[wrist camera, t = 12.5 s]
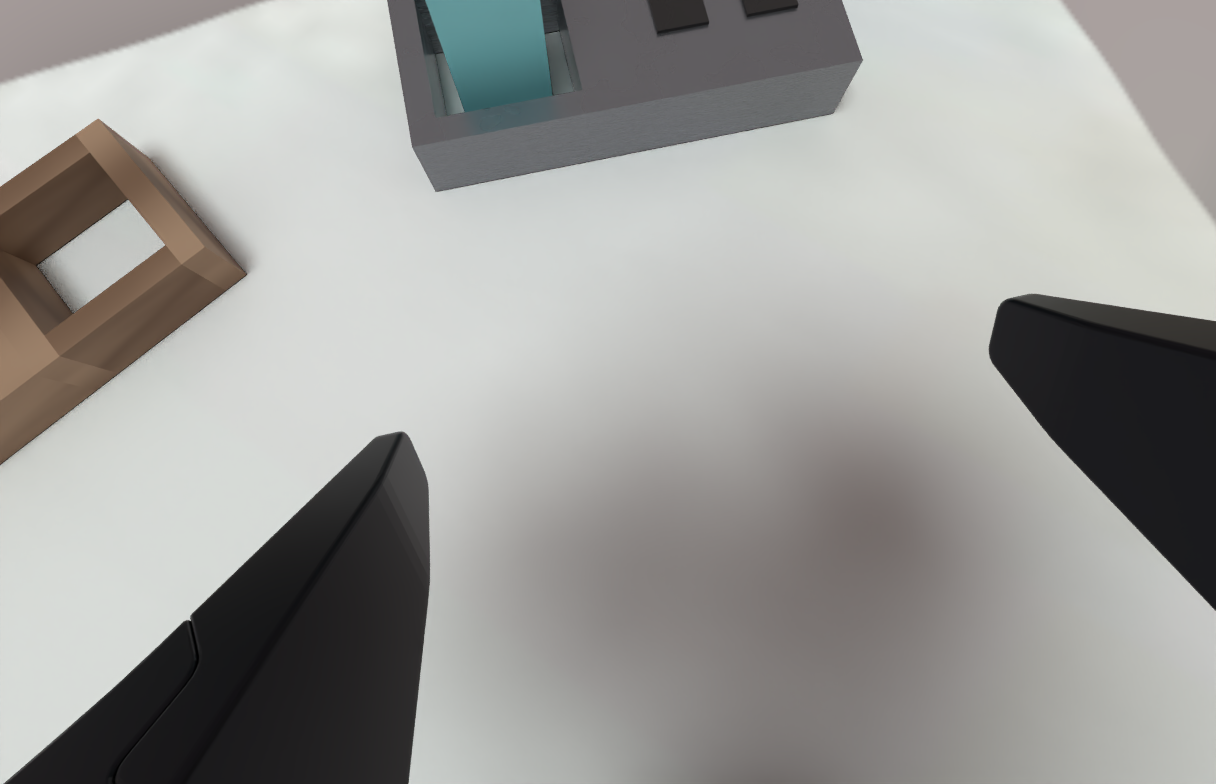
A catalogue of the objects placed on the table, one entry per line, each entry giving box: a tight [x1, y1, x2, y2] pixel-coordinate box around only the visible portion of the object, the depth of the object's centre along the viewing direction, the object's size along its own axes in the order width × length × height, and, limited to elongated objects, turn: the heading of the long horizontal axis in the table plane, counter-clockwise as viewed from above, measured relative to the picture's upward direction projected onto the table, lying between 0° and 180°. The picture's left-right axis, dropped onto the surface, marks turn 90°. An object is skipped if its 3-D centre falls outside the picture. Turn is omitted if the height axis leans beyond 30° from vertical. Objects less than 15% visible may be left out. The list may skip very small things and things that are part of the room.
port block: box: [387, 0, 863, 191], centre depth 24 cm, size 8×17×3 cm, turn 102°
